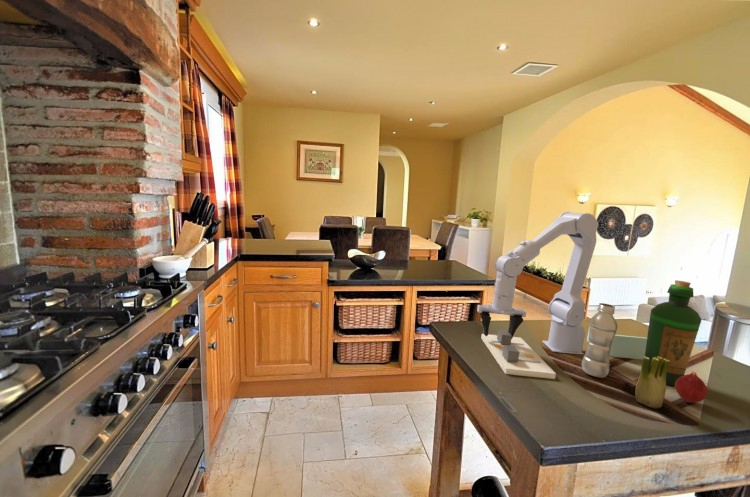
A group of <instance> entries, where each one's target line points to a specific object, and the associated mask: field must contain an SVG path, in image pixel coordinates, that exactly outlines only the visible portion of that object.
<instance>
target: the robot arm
mask: <svg viewBox="0 0 750 497" xmlns="http://www.w3.org/2000/svg"><path fill="white" fill-rule="evenodd" d="M599 225H600V224H599V221H598V220H597V218H596V217H595V215H593V214H592V213H588V212H585V213H583V212H582V213H581V212H580V213H579V212H571V211H566V212H565V211H564V212H562V213H561V214H560V215H559V216H557V217H555V218H554V220H553V222H552V223H551V224H550V225H548V226H547V227H546V228H545V229H544V230H542V232H541V233H539V234H538V235H537V236H536V237H535V238H533V239H532V240H526V239H525V241H524V240H522V241H520V242H519V245H518V246H516V247H515V248H514V249H512V250H510V251H508V252H507V255H500V256H499V257H498V258H497V260H496V261H495V262H494V263H493V264H494V269H495V270H496V279H495V285H494V287H495V288H494V293H493V300H492V304H485V305H484V304H477V308H476V310H477V313H479V315H480V319H481V322H482V327H483V334H484V335H485V336H488V334H489V328H490V324H491V320H492V317H491V314H494V315H504V316H509V325H508V329H507V331H508V332H509V333H510V334H511V335H512V338H513V337H514V336H515V333H516V331H517V329H519V327H520V326H521V325H522V324H523V323H524V318H526V317H527V310H525V309H524V308H523V309H522V308H516V307H513V304H514V298H515V292H516V291H515V290H516V285H517V279H518V277H517V276H520V275H521V274H522V272H523V270H524V267H525V266H526V265H527V264H529V263H530V262H532V260H534V259H535V258H536V257H538V256H539V255H540V253H541V249H543V248H544V247H545V246H547V245H548V244H550V243H551V242H553V241H554V240H556V239H557V238H559V237H561V236H563V235H567V236H569V238H570V239H571V241H572V242H573V243H574V245H573V248H572V252H571V256H570V259H569V263H568V266H567V269H566V273H565V277H564V281H563V283H562V287H561V289H560V291H558V292H556V293H555V294H554V295H553V298H552V299H551V301H550V302H549V303H548V307H547V309H548V312H549V314H550V318H551V322H550V329H549V333H548V339H547V340H542V343H543V344H544V345H545V346H546V347H548V349H550V350H551V351H552V352H554V353H562V354H572V355H573V354H574V355H583V356H584V353H583V347H584V344H585V337H586V330H585V327H584V325H582V322H583V321H584V319H585V317H586V312H585V308H586V303H585V300H584V299H583V298H582V292H583V289H584V285H585V282H586V278H587V275H588V272H589V269H590V264H591V262H592V258H593V256H594V251H595V249H596V244H597V231H598V227H599ZM512 338H511V339H512Z"/></svg>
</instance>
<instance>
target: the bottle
mask: <svg viewBox="0 0 750 497" xmlns="http://www.w3.org/2000/svg"><path fill="white" fill-rule="evenodd" d="M691 284H692V283H691V282H689V281H684V280H674V284H672V283H671V284H670V285H669V288H668V290H667V292H666V293H667V294H668V301H663V302H661V303H658V304H657V305H655V306H654V307H652V308H651V309H650V315H649V322H648V328H647V329H648V330H647V337H646V338H647V343H646V350H645V357H648V358H649V359H650V362H649V367H650V364H651V361H652V358H654V357H655V358H657V356H658V357H662V358H663V359H667V360H670V364H669V367H668V370H667V374H666V385H669V386H675V382H676V380H677V379H678V378H679V377H681V376H684V375H686V374H685V373H686V370H687V368H688V365H689V361H690V358H691V355H692V350H693V348H694V345H695V342H696V339H697V336H698V332H699V329H700V326H701V323H702V318H701V315H700V313H699V312H698V311H696V310H695V309H694V308H693V307H691V306H690V305H689V303H690V301H691V300H690V299H691V298H692V299H693V298H694V288H693V287H691ZM688 305H689V306H688Z"/></svg>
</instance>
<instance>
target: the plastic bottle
mask: <svg viewBox="0 0 750 497" xmlns="http://www.w3.org/2000/svg"><path fill="white" fill-rule="evenodd" d="M615 309H616V307H615V305H612V304H608V303H599V304H598V308H597V311H598V312H597V313H595V314H594V315H593V316H592V317H591V318H590V320H589V325H590V327H588V331H589V341H588V342H587V347H586V350H585V353H584V354H583V358H582V360H581V368H582V371H583V372H584V373H585V374H586V375H590V376H592V377H593V378H601V379H603V378H606V377H607V376H608V374H609V371H610V357H611V356H610V350H611V346H612V342H613V339H614V336H615V335H617V331H618V328H619V327H618V323H617V320H616V319H615V317H614V314H615Z"/></svg>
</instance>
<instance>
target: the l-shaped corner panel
mask: <svg viewBox="0 0 750 497" xmlns="http://www.w3.org/2000/svg"><path fill="white" fill-rule="evenodd" d="M589 327H590V324H589ZM589 327H588V328H589ZM588 341H589V330H588V332H587V337H586V342H587V343H588ZM646 343H647V337H644V336H632V335H624V334H615V336H614V339H613V342H612V346H611V350H610V357H614V358H623V359H624V358H626V359H635V360H643V357H645V350H646Z"/></svg>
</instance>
